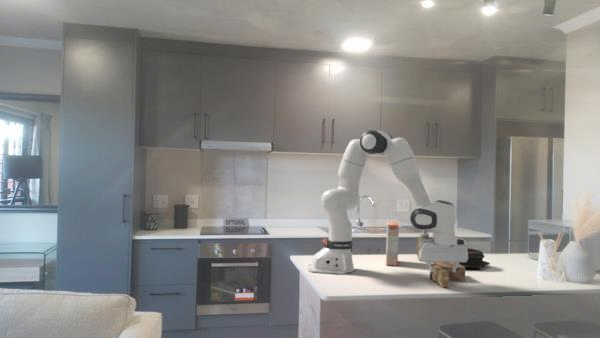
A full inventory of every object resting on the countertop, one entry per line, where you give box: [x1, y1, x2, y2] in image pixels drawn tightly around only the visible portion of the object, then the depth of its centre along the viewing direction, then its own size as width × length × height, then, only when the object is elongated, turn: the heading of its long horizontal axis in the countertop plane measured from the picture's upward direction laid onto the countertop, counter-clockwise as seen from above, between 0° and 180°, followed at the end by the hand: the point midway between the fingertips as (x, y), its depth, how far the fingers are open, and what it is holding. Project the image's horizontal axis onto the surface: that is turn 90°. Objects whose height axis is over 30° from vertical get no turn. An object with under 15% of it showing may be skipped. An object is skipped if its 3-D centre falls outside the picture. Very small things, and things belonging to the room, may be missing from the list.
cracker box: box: [385, 221, 400, 267], centre depth 215 cm, size 14×6×21 cm, turn 168°
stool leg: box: [430, 263, 450, 288], centre depth 177 cm, size 16×3×6 cm, turn 0°
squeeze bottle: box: [416, 229, 431, 262], centre depth 224 cm, size 8×8×18 cm
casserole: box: [459, 247, 491, 270], centre depth 211 cm, size 25×19×8 cm
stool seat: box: [429, 261, 466, 282], centre depth 187 cm, size 15×12×6 cm
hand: (442, 272), depth 173 cm, fingers open, 8 cm apart
